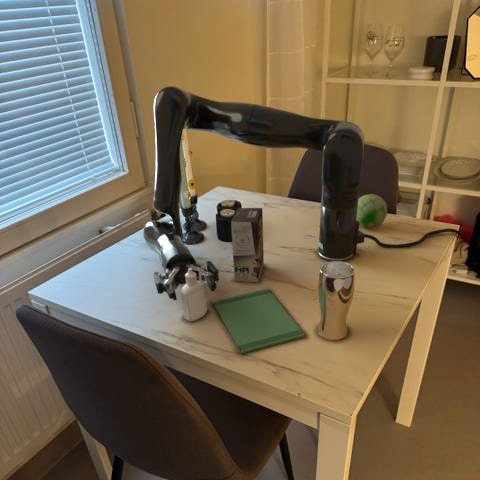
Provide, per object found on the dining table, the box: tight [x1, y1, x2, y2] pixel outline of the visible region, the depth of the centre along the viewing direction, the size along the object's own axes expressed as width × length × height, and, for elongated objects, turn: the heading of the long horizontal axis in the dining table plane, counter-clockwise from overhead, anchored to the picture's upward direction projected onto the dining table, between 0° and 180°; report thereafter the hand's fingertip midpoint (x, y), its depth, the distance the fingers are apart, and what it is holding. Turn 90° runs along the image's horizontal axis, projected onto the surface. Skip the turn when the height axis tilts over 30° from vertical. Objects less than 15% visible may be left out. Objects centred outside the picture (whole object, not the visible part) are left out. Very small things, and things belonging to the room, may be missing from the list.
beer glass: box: [317, 261, 356, 341], centre depth 93 cm, size 7×7×15 cm
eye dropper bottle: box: [180, 268, 208, 322], centre depth 101 cm, size 4×6×12 cm
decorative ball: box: [356, 193, 388, 230], centre depth 135 cm, size 10×10×10 cm
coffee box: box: [230, 207, 265, 283], centre depth 114 cm, size 9×6×16 cm
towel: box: [212, 288, 306, 354], centre depth 102 cm, size 14×20×1 cm
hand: (194, 292), depth 99 cm, fingers open, 8 cm apart
